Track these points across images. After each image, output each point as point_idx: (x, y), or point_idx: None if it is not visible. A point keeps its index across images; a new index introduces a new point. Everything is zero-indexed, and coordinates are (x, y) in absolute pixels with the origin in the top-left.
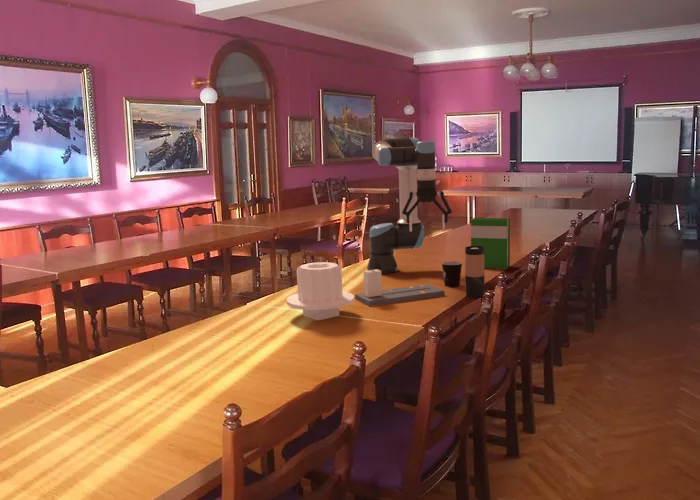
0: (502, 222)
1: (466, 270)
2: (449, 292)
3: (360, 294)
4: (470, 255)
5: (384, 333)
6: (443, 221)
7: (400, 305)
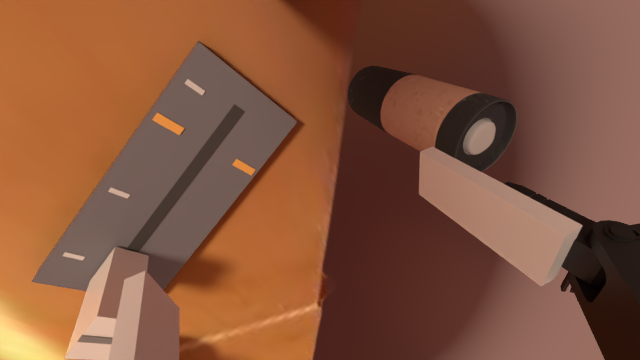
0: None
1: (396, 136)
2: (294, 73)
3: (59, 275)
4: None
5: (281, 350)
6: (488, 237)
7: (225, 248)
